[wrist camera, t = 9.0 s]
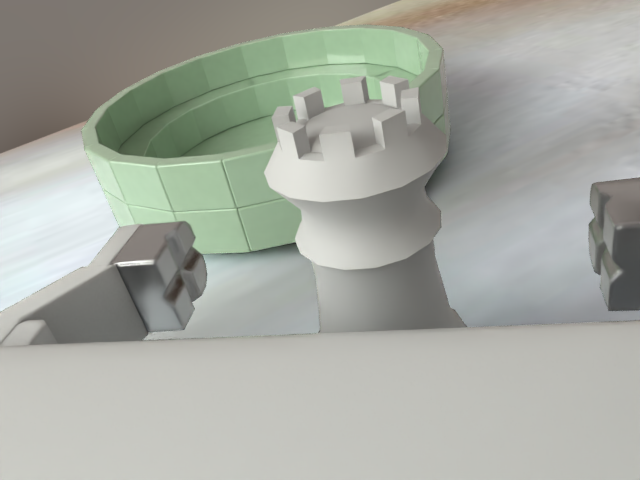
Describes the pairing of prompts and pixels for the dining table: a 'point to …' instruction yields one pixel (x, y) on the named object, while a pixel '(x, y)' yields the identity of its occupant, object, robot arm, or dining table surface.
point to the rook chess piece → (365, 205)
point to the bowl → (241, 128)
